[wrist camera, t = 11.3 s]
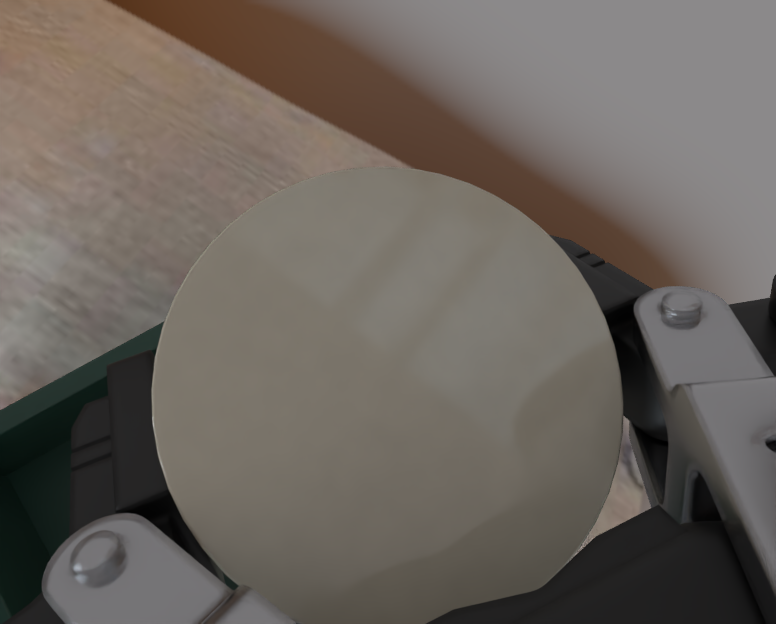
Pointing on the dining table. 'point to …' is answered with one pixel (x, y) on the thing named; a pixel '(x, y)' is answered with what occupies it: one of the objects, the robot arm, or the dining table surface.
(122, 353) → the dark green box
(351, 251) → the cream cylinder
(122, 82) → the dining table surface
